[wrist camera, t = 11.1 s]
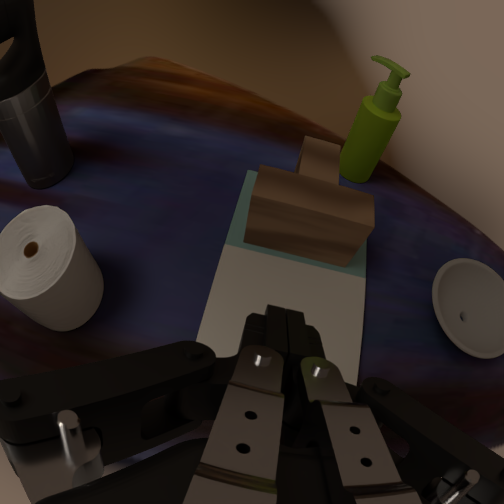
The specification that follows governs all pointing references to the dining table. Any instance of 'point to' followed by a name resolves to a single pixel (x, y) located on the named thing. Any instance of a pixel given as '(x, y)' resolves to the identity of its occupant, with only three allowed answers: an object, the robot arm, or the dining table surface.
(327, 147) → the t block
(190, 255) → the dining table surface
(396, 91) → the soap dispenser
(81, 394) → the robot arm
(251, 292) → the board
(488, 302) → the dish
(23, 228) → the toilet tissue
